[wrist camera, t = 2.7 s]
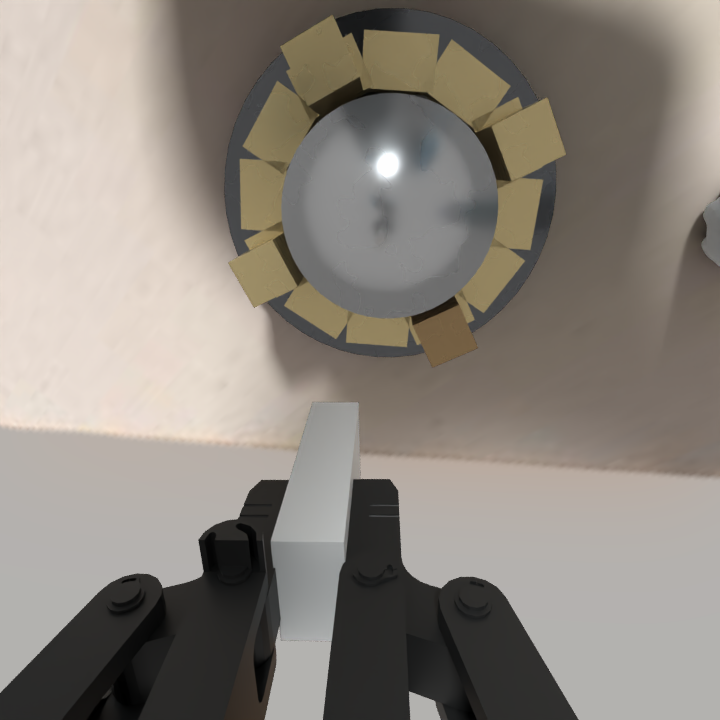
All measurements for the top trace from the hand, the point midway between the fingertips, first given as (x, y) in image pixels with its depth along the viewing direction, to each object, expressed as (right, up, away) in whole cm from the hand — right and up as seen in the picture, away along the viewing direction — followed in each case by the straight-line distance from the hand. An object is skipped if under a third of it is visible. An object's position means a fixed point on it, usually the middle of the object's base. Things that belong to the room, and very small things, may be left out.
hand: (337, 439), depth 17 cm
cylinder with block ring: (+2, +11, +11) cm, 15 cm away
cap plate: (+2, +12, +13) cm, 18 cm away
